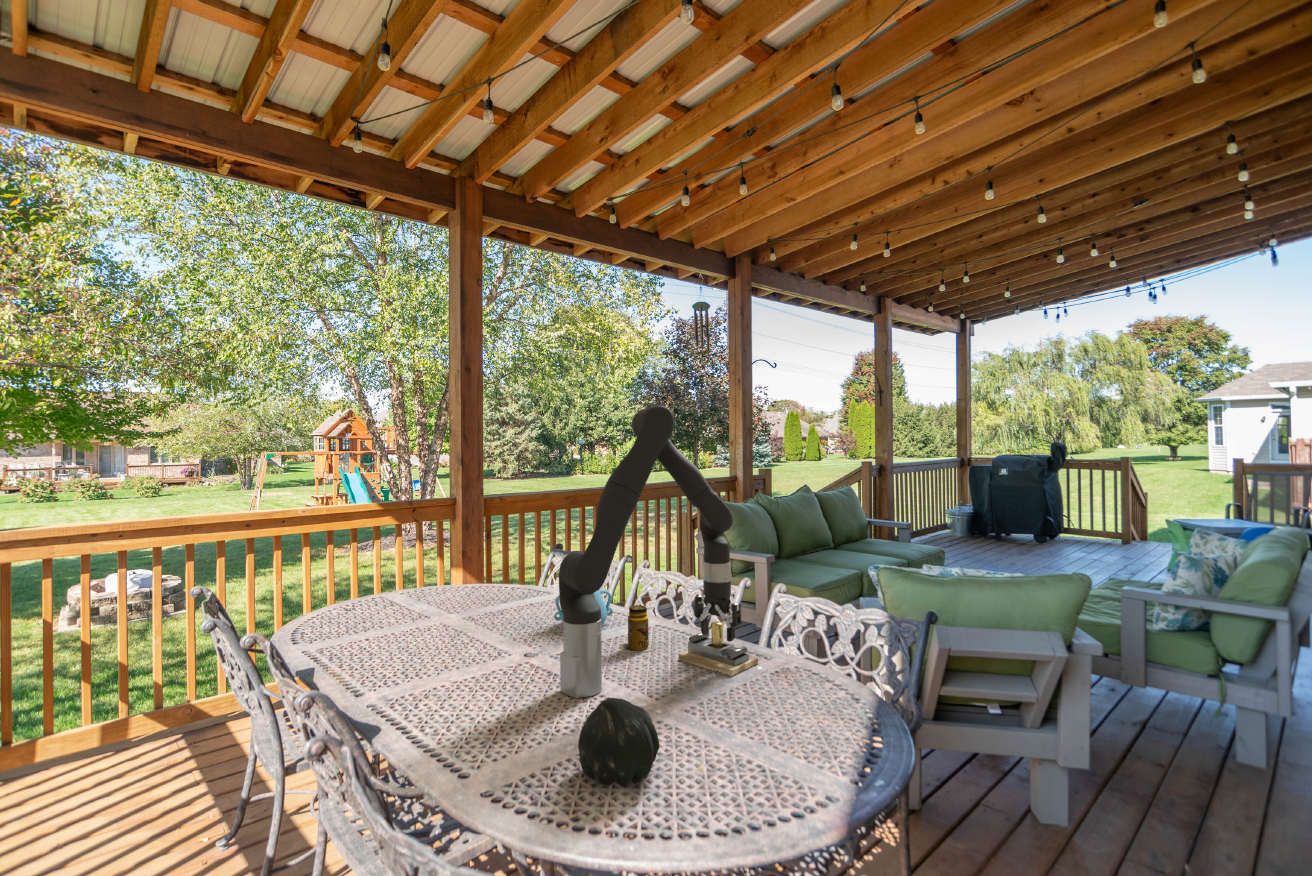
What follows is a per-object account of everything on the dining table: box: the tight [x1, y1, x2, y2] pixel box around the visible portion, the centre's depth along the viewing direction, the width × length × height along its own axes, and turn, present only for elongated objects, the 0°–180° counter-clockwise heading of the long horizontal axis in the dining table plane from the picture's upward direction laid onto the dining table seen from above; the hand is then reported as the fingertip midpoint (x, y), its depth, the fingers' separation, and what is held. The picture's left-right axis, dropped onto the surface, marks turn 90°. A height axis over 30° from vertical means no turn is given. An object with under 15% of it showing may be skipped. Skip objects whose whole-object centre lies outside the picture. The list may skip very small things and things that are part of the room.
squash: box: [577, 697, 660, 787], centre depth 110 cm, size 14×15×15 cm
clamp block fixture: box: [678, 632, 759, 677], centre depth 166 cm, size 12×18×6 cm, turn 47°
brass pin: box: [710, 620, 724, 649], centre depth 166 cm, size 3×3×9 cm
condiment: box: [619, 604, 652, 654], centre depth 178 cm, size 7×8×12 cm
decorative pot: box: [553, 589, 614, 627], centre depth 200 cm, size 20×20×14 cm
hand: (717, 637), depth 166 cm, fingers open, 8 cm apart
